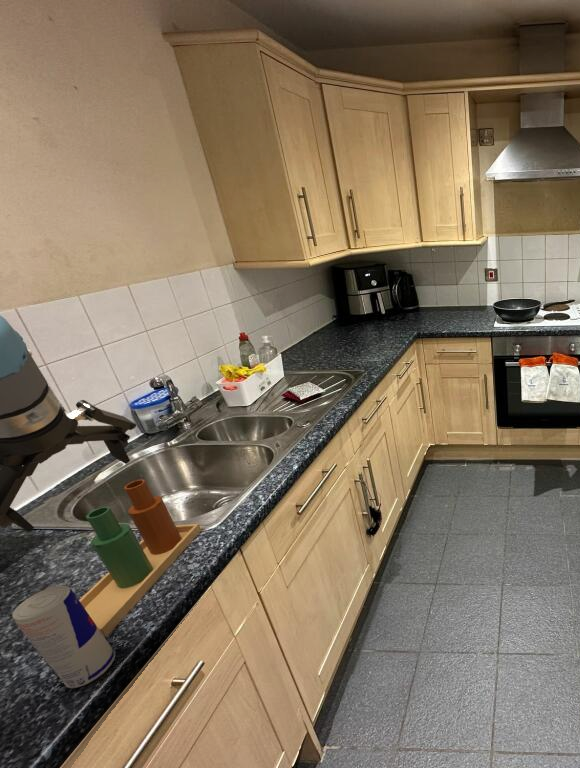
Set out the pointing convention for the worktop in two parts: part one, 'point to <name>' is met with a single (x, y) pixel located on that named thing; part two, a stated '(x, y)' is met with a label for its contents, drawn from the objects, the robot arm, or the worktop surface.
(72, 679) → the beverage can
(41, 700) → the worktop surface
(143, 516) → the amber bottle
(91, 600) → the tray
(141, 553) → the green bottle
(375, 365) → the worktop surface
